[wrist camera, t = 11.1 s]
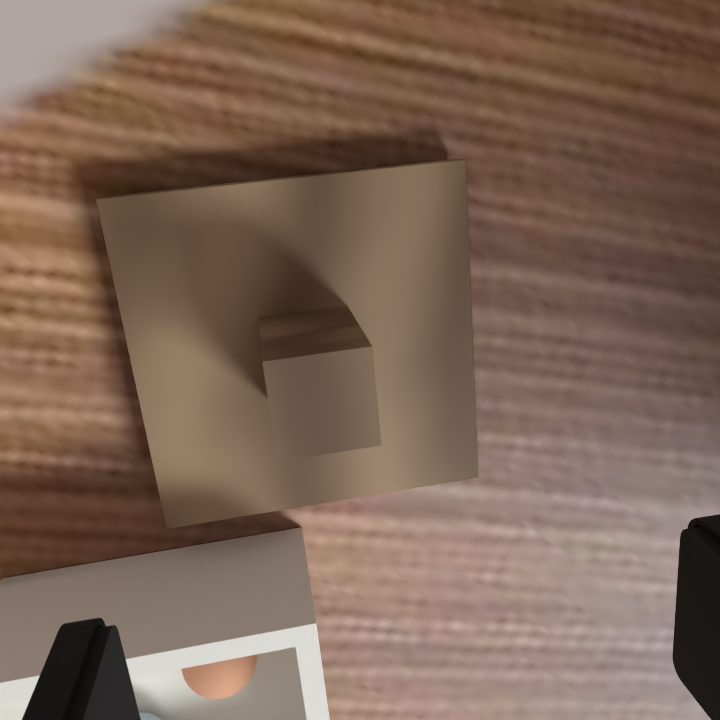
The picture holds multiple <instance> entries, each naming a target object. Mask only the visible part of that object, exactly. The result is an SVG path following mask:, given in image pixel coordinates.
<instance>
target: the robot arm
mask: <svg viewBox="0 0 720 720" xmlns="http://www.w3.org/2000/svg"><path fill="white" fill-rule="evenodd" d="M673 663H674V667H675V670H676V672H677V674H678V676H679V678H680V680H681V681H682V683H683V684H684V685H685V686H686V688H687V689H688V690H689V692H690V693H691V694H692V695H693V697H694V698H695V699H696V701H697V702H698V703H699V704H700V706H701V707H702V708H703V710H704V711H705V712H706V713H707V715H708V716H709V717H710V718H711V720H720V514H719V515H713V516H707V517H701V518H695V519H693V520H691V521H690V523H689V524H688V529H685V530H683V531H682V533H681V536H680V549H679V565H678V580H677V596H676V612H675V628H674V643H673ZM22 720H141V718H140V714H139V710H138V706H137V702H136V699H135V695H134V691H133V687H132V683H131V679H130V675H129V671H128V667H127V663H126V659H125V655H124V651H123V647H122V643H121V639H120V635H119V631H118V628H117V627H116V626H115V625H111V626H106V625H105V622H104V621H103V619H102V618H94V619H88V620H82V621H76V622H70V623H64V624H63V625H61V627H60V629H59V630H58V633H57V635H56V638H55V640H54V642H53V645H52V647H51V650H50V652H49V655H48V657H47V660H46V662H45V664H44V667H43V669H42V672H41V674H40V677H39V679H38V681H37V684H36V686H35V689H34V691H33V694H32V696H31V698H30V701H29V703H28V706H27V708H26V711H25V713H24V715H23V718H22Z"/></svg>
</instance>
